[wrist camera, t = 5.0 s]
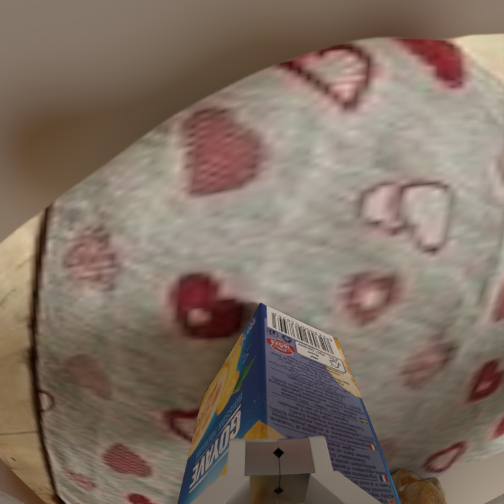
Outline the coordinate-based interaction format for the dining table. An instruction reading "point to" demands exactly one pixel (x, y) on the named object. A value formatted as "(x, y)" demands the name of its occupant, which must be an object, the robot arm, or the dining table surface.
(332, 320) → the dining table surface
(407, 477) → the rough brown rock
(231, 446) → the robot arm
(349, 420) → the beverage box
